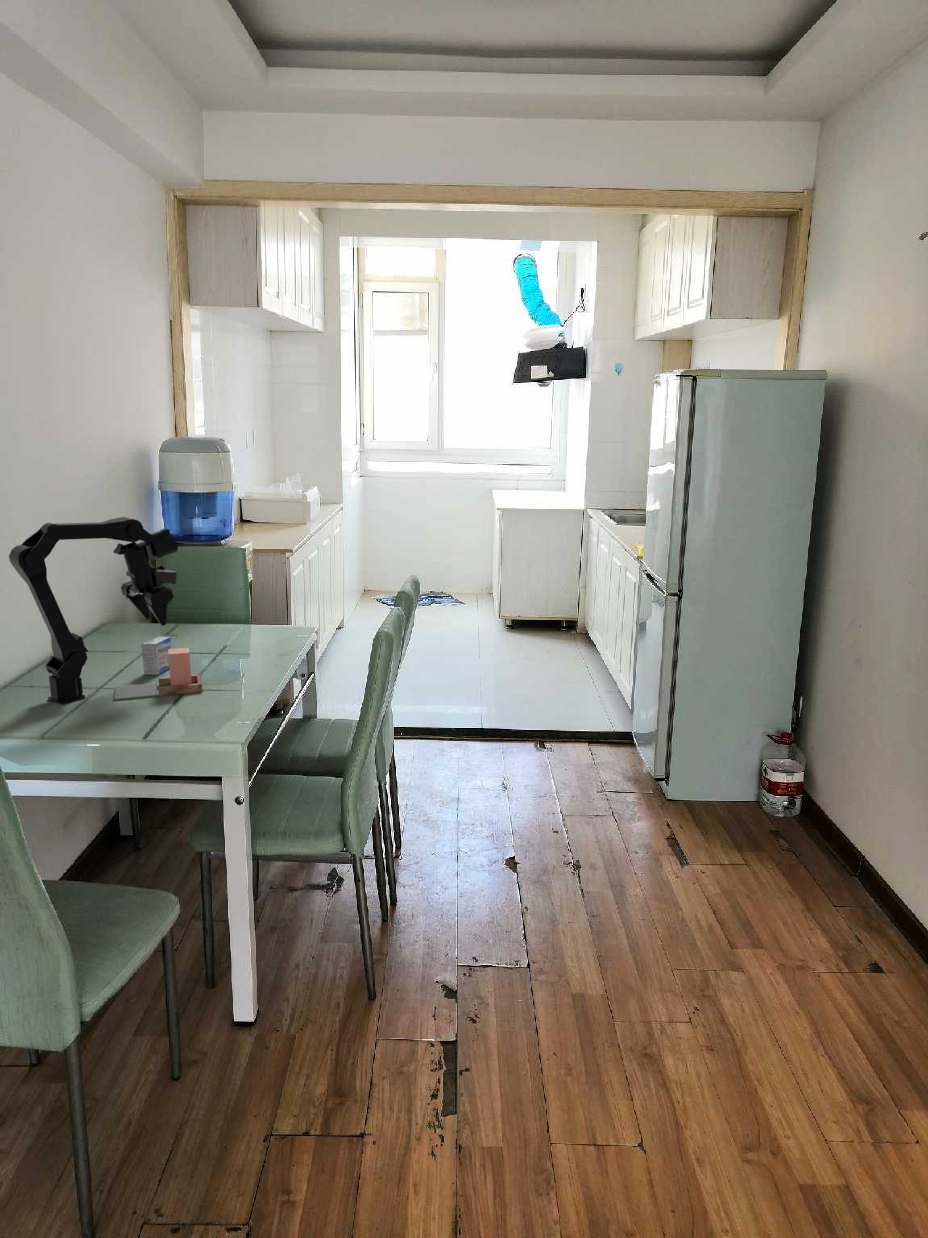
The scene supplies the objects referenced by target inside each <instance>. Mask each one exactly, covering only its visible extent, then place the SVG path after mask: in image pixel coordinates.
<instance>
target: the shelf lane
mask: <svg viewBox="0 0 928 1238" xmlns="http://www.w3.org/2000/svg"><path fill="white" fill-rule="evenodd" d="M191 681H192V684H187V685H176V686H171V679H170V676H164V677H158V686H157V691H158V697H161V696H171V695H173V694H175V695H182V694H192V693H193V694H194V693H204V691H203V679H202V674H201V673H200V674H191ZM173 696H174V695H173Z"/></svg>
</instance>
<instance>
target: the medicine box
mask: <svg viewBox="0 0 928 1238" xmlns="http://www.w3.org/2000/svg"><path fill="white" fill-rule="evenodd" d="M171 639H172V638H171V637H170V636H155V637H154V638H151V639H150V640H148V641H145V642H144V643H141V655H142V663H143V664H142V665H143V674H144V675H149V676H150V675H152V676H160V675H162V674H164V673H165V672H167V671H169V670H170V667H169V655H168V649H172V641H171ZM168 669H169V670H168Z"/></svg>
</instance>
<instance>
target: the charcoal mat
mask: <svg viewBox="0 0 928 1238" xmlns="http://www.w3.org/2000/svg"><path fill="white" fill-rule="evenodd" d="M157 697H158V683H157V682H154V683H143V684H142V683H141V684H132V685H131V684H130V685H121V686H119V685H118V686H115V689H114V695H113V701H115V702H116V701H125V700H135V699H136V700H138V699H148V698H157ZM137 698H138V699H137Z"/></svg>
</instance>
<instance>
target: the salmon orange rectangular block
mask: <svg viewBox="0 0 928 1238" xmlns="http://www.w3.org/2000/svg"><path fill="white" fill-rule="evenodd" d="M168 655H169V667H170V669H169V674H170V675H169V677H170V679H171V685H170V686H176V685H187V684H193V683H192V681H191V675H192V672H191V671H192V670H191V668H192V667H191V659H190V657H191V656H190V647H179V648H171V649H168Z"/></svg>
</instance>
